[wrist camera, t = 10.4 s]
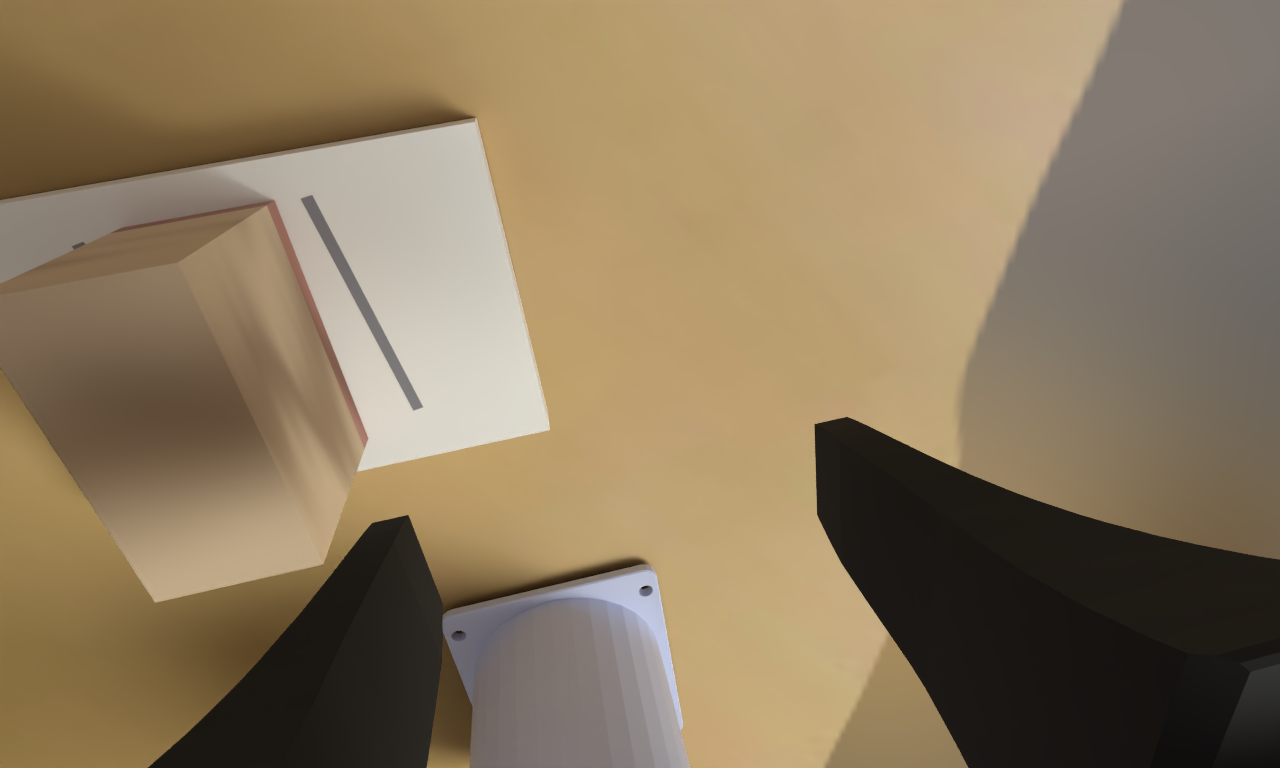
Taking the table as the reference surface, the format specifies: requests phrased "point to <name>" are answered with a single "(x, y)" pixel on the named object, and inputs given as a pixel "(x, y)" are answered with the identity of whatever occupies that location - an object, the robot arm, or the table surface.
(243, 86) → the table surface
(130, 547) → the block
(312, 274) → the board
